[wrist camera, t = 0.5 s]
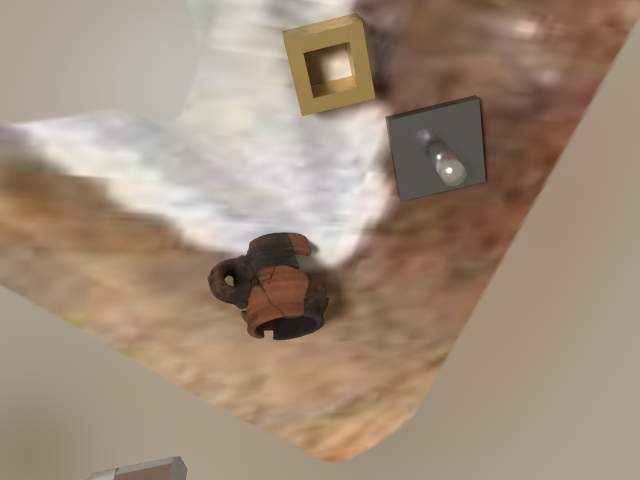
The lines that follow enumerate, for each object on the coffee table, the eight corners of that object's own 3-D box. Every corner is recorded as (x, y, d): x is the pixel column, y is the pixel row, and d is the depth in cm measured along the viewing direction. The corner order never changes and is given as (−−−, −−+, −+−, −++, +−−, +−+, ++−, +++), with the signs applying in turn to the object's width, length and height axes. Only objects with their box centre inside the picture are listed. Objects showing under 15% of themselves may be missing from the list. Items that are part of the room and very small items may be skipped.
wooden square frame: (282, 31, 47) (283, 40, 44) (355, 13, 47) (362, 21, 44) (299, 102, 50) (302, 116, 47) (368, 86, 50) (375, 98, 47)
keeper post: (385, 116, 51) (399, 141, 46) (475, 95, 51) (499, 117, 46) (398, 196, 55) (412, 227, 50) (482, 177, 55) (505, 206, 50)
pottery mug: (337, 232, 57) (351, 310, 53) (297, 275, 65) (307, 347, 61) (218, 218, 52) (224, 304, 48) (189, 266, 59) (192, 344, 55)
